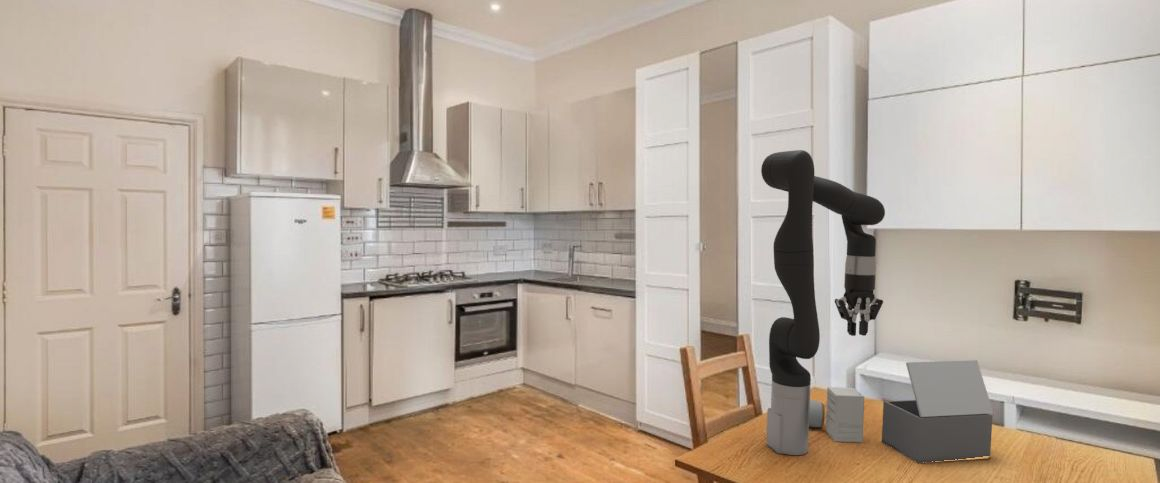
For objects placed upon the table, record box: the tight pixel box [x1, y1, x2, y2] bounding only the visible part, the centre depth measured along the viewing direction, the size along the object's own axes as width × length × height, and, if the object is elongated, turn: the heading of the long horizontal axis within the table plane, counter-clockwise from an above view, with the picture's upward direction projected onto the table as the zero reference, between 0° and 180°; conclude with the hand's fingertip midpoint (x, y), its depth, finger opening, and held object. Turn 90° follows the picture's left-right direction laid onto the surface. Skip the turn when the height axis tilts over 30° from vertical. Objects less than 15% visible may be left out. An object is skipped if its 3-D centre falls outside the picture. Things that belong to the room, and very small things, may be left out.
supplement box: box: [825, 386, 865, 443], centre depth 153 cm, size 7×7×13 cm
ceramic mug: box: [809, 399, 826, 428], centre depth 163 cm, size 11×8×8 cm
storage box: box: [881, 399, 993, 464], centre depth 145 cm, size 20×13×11 cm, turn 100°
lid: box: [905, 359, 994, 417], centre depth 141 cm, size 20×13×1 cm
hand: (857, 334), depth 156 cm, fingers open, 2 cm apart
